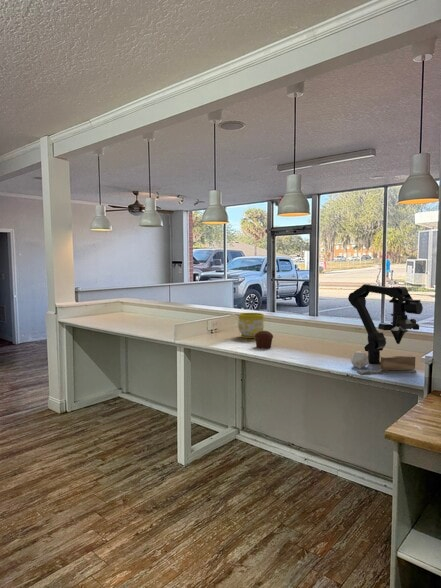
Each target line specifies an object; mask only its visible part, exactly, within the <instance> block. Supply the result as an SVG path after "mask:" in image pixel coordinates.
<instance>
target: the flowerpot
mask: <svg viewBox="0 0 441 588" xmlns="http://www.w3.org/2000/svg"><path fill="white" fill-rule="evenodd" d="M264 316H265V314H264V313H261V312H241V313H238V324H237V325H238V330H239V333H240V336H241V337H242V338H243V339H247V338H255V334H256V333H257V332H259V331H264V328H265V322H264Z"/></svg>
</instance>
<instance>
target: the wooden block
mask: <svg viewBox="0 0 441 588" xmlns="http://www.w3.org/2000/svg"><path fill="white" fill-rule="evenodd" d="M380 362H381V364H380V368H379V369H382V370H384V371H386V370H410V369H415V370H416V356H415V355H390V356H389V355H386V356H380Z"/></svg>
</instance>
